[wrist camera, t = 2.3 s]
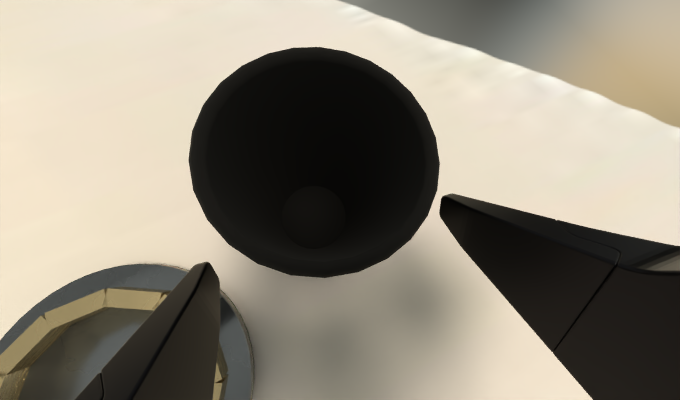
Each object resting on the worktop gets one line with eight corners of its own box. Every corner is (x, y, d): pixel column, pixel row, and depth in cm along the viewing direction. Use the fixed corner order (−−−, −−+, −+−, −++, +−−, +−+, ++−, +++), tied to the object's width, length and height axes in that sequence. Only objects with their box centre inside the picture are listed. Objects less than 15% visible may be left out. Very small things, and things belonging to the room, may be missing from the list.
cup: (255, 264, 18) (153, 264, 6) (271, 166, 20) (218, 26, 8) (359, 272, 18) (445, 287, 7) (364, 177, 20) (438, 65, 9)
